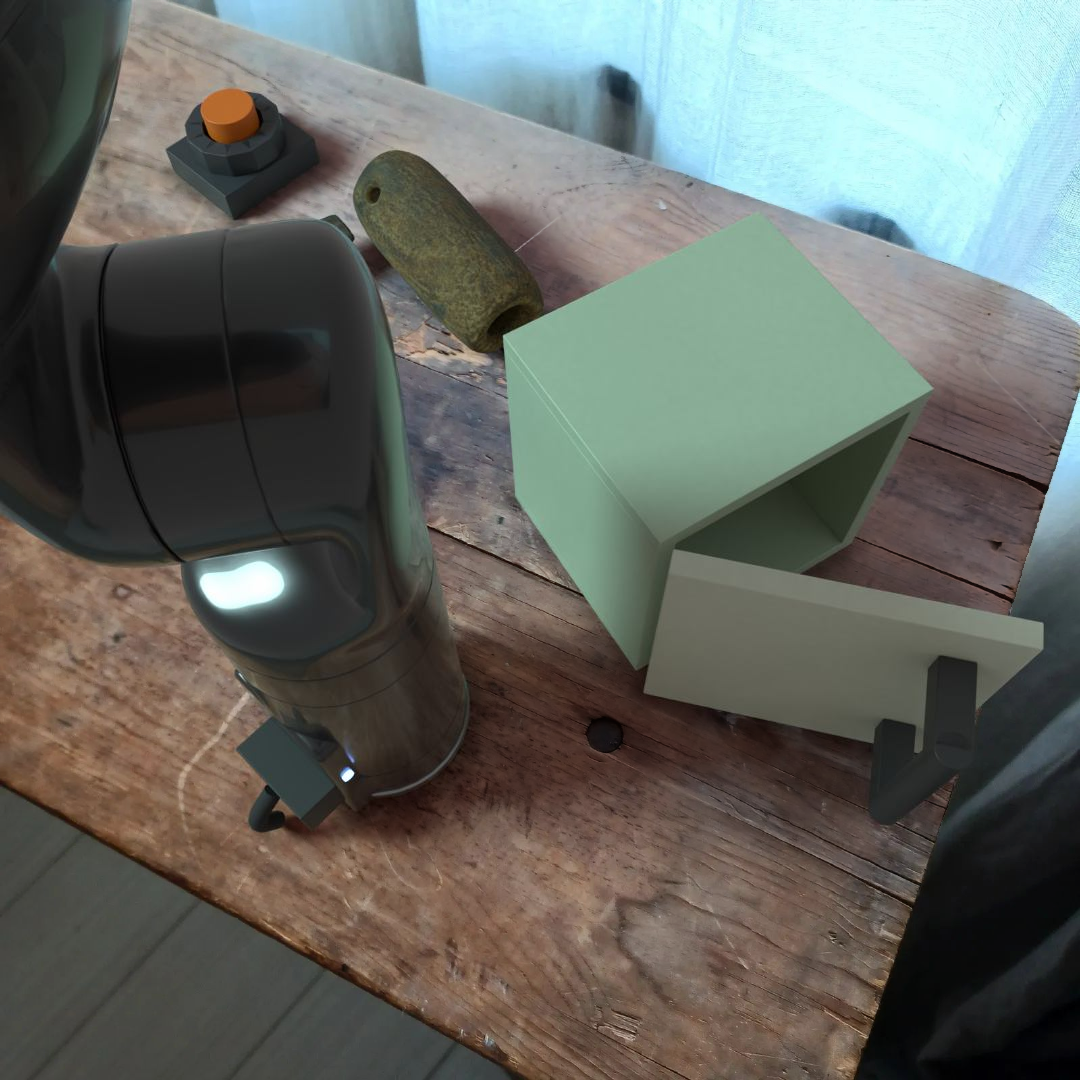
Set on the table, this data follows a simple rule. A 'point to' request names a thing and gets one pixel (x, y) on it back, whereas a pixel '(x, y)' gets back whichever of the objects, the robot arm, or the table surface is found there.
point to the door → (838, 665)
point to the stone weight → (445, 250)
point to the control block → (243, 159)
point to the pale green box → (703, 421)
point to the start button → (230, 116)
